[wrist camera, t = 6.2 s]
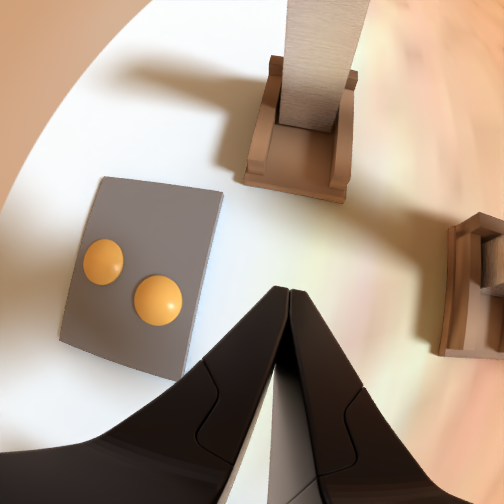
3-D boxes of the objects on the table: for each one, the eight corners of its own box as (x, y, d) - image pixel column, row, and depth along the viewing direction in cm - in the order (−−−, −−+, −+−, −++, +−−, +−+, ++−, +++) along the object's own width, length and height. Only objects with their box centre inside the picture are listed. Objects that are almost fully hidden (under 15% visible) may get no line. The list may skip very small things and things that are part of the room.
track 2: (500, 359, 17) (532, 360, 13) (438, 356, 17) (470, 358, 13) (506, 246, 19) (535, 233, 15) (448, 229, 19) (476, 211, 16)
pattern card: (182, 381, 17) (178, 383, 17) (63, 340, 18) (56, 340, 17) (223, 195, 20) (222, 190, 19) (107, 179, 21) (102, 174, 20)
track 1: (342, 203, 20) (358, 177, 16) (244, 185, 20) (240, 155, 17) (349, 104, 22) (360, 72, 18) (267, 89, 22) (268, 54, 19)
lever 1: (329, 136, 20) (389, -73, 5) (278, 126, 20) (291, -92, 5) (332, 100, 21) (378, -86, 6) (285, 91, 21) (299, -101, 6)
